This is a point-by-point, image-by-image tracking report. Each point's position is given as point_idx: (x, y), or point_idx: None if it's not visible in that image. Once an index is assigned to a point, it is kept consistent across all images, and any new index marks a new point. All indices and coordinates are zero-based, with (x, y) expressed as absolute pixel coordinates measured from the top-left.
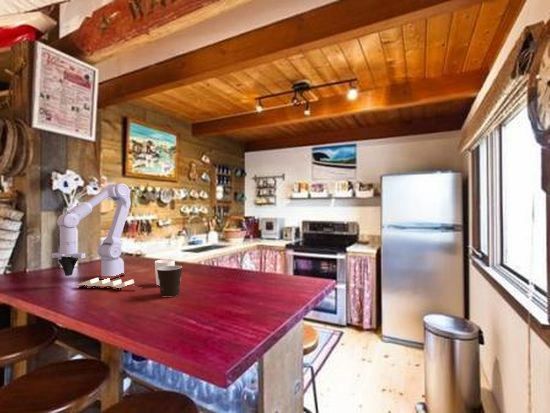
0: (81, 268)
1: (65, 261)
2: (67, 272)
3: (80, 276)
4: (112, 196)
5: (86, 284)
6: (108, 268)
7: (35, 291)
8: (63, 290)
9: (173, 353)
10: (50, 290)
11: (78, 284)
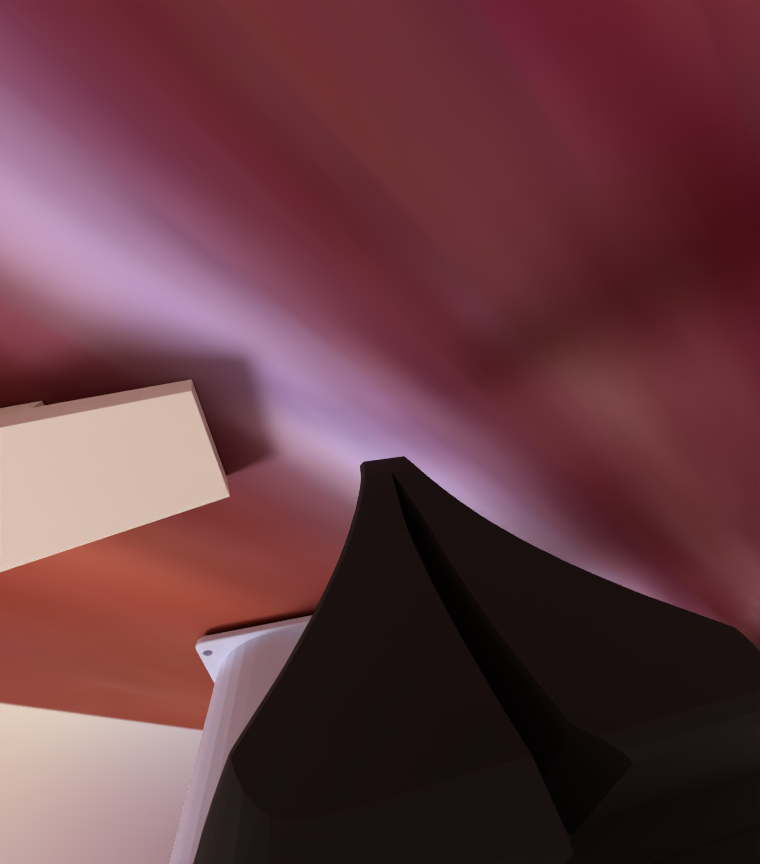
0: None
1: (387, 712)
2: (362, 482)
3: None
4: None
5: (9, 414)
6: (216, 751)
7: (559, 191)
8: (275, 292)
9: None
10: (426, 263)
11: (142, 397)
